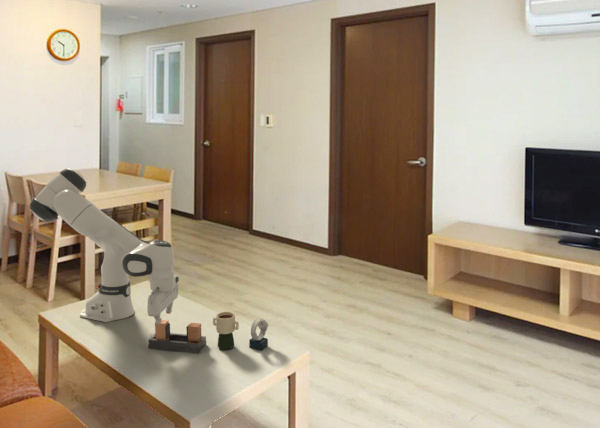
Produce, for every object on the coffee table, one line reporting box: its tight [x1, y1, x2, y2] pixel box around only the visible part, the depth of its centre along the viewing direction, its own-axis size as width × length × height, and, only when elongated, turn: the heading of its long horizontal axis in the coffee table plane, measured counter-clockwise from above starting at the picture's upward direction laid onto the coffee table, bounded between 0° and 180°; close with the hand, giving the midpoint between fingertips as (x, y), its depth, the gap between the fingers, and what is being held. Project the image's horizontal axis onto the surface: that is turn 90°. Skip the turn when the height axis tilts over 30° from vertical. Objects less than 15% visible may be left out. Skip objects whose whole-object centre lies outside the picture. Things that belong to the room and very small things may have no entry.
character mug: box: [212, 311, 240, 350], centre depth 192 cm, size 11×7×13 cm, turn 68°
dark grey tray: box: [147, 322, 207, 355], centre depth 192 cm, size 20×8×10 cm, turn 80°
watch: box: [248, 318, 269, 351], centre depth 193 cm, size 6×8×11 cm
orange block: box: [154, 319, 171, 340], centre depth 193 cm, size 5×3×8 cm
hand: (163, 318), depth 193 cm, fingers open, 8 cm apart
